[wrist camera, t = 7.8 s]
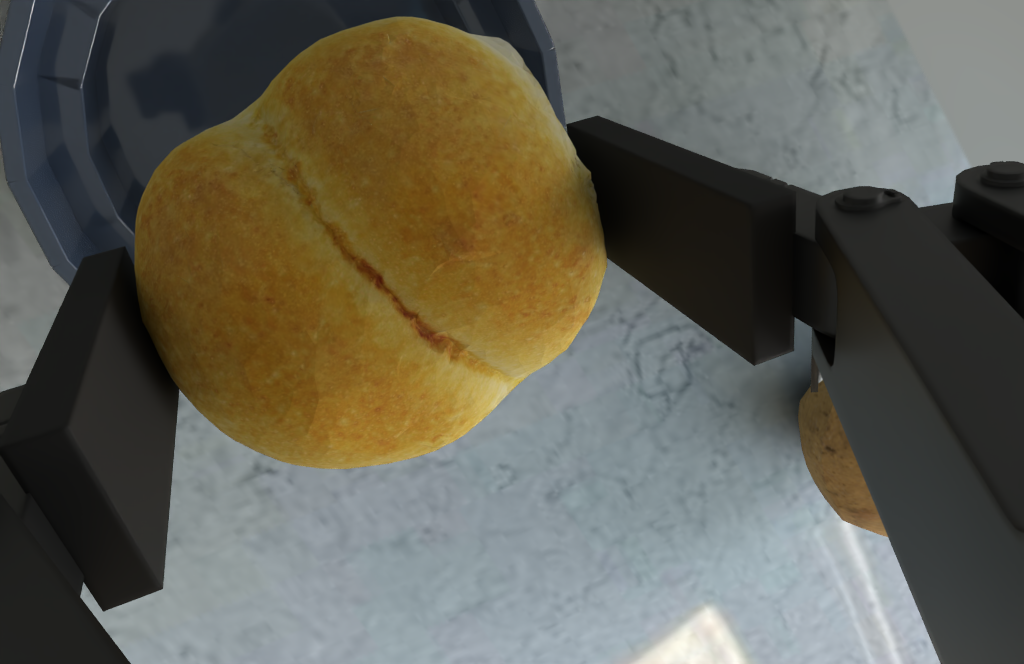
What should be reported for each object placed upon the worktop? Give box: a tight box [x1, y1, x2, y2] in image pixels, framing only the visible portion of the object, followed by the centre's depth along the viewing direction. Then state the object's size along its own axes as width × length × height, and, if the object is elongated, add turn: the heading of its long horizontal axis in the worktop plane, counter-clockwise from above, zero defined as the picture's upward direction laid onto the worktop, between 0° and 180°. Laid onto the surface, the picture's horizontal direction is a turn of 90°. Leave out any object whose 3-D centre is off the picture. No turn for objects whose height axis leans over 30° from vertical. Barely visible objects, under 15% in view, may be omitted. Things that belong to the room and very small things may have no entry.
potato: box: [798, 380, 888, 537], centre depth 40 cm, size 10×14×8 cm
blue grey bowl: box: [0, 0, 566, 285], centre depth 25 cm, size 16×16×6 cm
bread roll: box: [135, 17, 607, 469], centre depth 14 cm, size 8×9×4 cm
